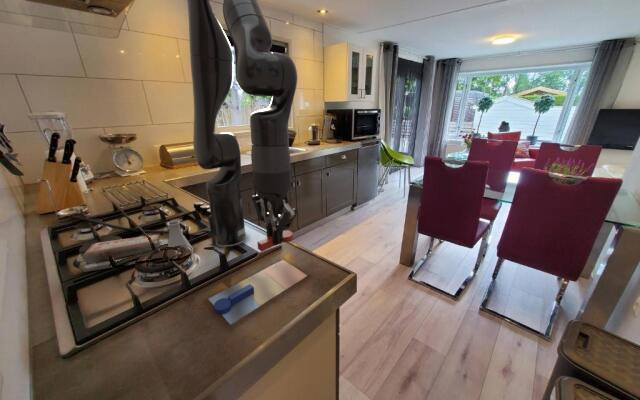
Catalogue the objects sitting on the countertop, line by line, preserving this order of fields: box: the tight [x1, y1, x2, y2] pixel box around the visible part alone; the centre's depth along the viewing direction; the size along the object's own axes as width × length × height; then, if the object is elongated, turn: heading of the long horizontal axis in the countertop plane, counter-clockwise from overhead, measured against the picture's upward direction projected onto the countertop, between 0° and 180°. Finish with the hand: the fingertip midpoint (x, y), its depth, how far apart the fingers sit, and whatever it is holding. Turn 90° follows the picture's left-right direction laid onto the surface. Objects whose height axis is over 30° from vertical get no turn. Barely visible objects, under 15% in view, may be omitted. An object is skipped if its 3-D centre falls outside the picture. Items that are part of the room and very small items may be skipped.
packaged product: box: [82, 234, 169, 273], centre depth 70 cm, size 18×5×10 cm
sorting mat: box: [208, 259, 308, 326], centre depth 60 cm, size 21×10×1 cm, turn 137°
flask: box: [166, 219, 194, 253], centre depth 71 cm, size 7×7×10 cm
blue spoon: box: [213, 284, 254, 316], centre depth 54 cm, size 9×3×2 cm, turn 137°
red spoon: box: [257, 229, 294, 252], centre depth 56 cm, size 9×3×2 cm, turn 136°
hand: (274, 241), depth 56 cm, fingers closed on red spoon, 1 cm apart
